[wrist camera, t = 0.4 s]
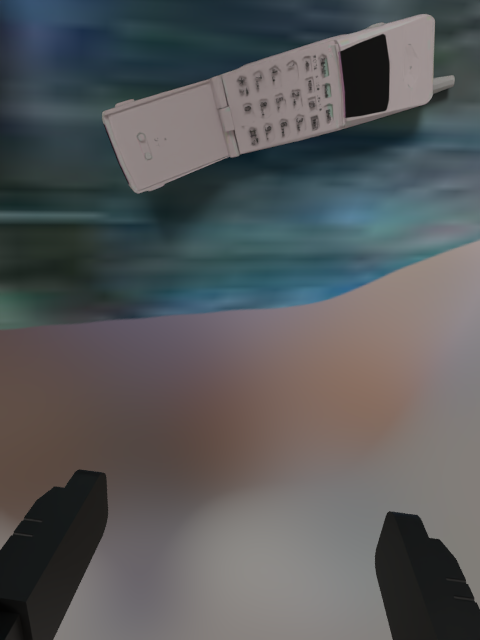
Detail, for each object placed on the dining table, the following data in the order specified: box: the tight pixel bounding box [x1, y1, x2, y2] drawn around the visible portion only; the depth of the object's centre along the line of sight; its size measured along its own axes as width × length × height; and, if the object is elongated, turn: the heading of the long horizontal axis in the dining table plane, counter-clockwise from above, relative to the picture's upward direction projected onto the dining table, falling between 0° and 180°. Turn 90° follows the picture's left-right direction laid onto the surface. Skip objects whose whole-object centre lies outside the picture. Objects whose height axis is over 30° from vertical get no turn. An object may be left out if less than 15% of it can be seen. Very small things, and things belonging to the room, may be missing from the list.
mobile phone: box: [102, 14, 455, 194], centre depth 28 cm, size 6×6×25 cm
